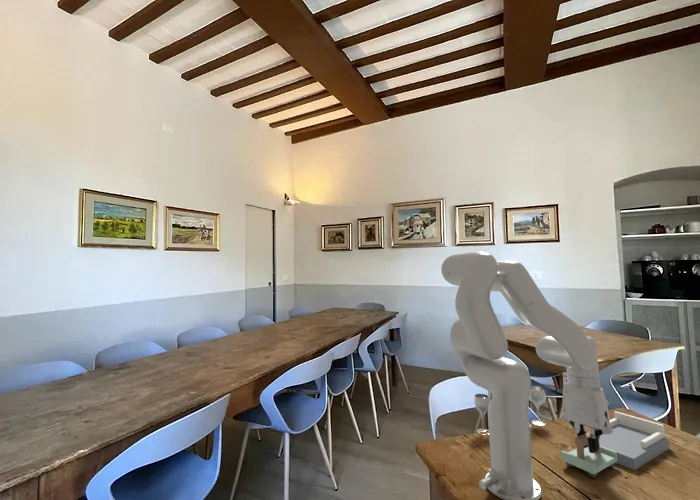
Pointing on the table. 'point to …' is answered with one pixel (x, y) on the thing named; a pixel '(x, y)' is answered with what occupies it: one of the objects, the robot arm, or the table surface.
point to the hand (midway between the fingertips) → (588, 449)
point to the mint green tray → (589, 456)
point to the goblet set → (483, 400)
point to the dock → (634, 440)
